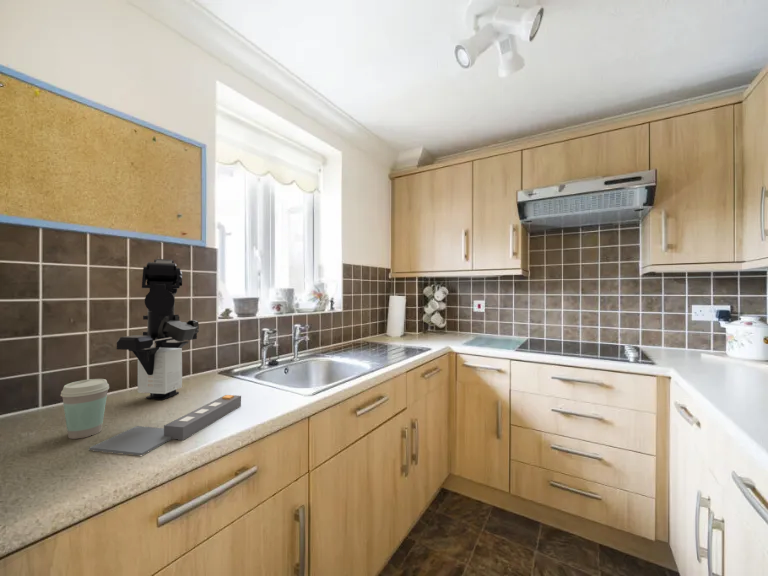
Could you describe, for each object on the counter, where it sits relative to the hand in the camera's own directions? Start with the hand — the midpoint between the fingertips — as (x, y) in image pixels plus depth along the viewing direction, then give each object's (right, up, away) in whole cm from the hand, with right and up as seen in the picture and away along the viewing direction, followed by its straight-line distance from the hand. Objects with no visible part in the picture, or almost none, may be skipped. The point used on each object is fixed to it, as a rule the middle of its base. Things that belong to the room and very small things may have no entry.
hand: (160, 372), depth 81 cm
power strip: (+11, -14, +3) cm, 17 cm away
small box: (0, -5, 0) cm, 5 cm away
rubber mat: (+2, -13, -9) cm, 16 cm away
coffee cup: (-14, -13, -6) cm, 20 cm away
